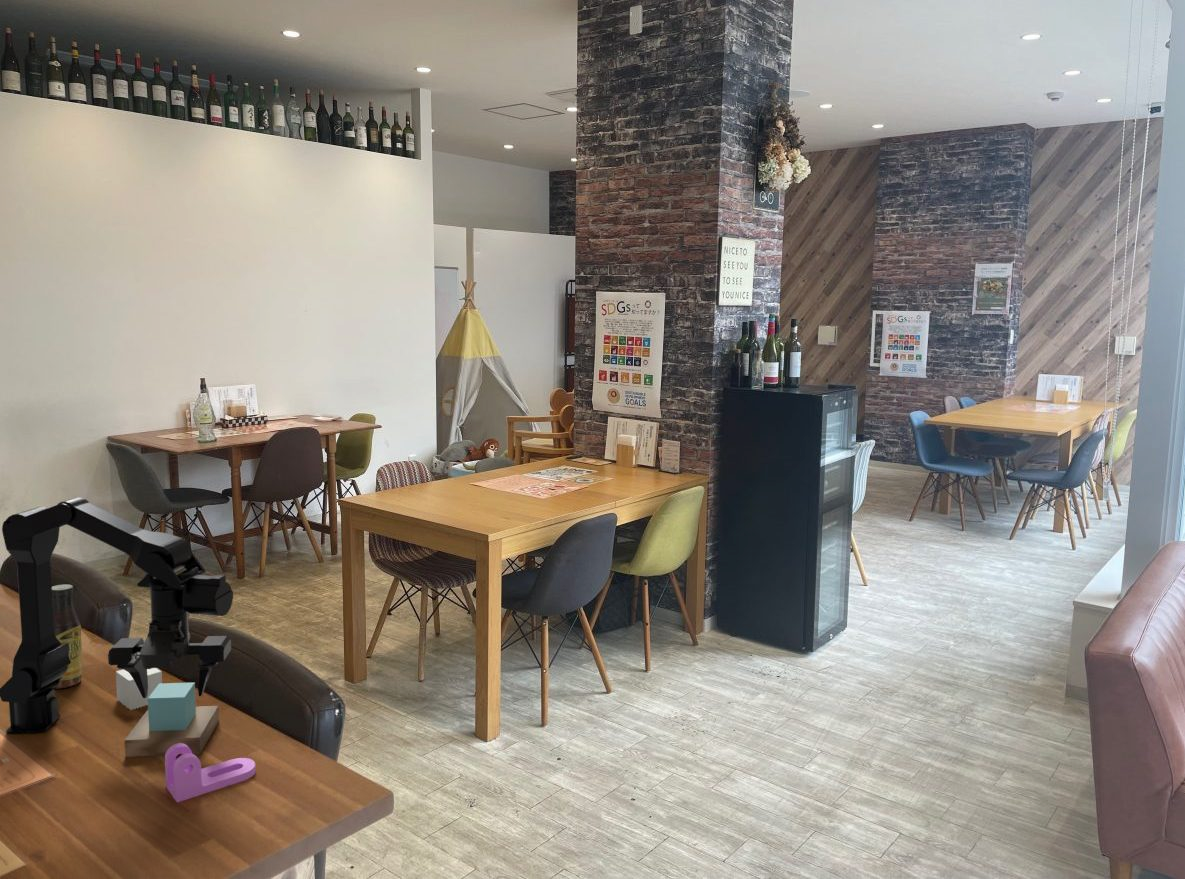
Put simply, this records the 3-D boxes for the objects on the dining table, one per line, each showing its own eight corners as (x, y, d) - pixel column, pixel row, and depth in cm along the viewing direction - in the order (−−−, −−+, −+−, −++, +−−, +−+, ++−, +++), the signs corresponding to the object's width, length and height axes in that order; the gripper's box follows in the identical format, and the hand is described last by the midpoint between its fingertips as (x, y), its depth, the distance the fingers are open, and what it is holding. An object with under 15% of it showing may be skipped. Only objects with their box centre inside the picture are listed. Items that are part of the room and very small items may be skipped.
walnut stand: (125, 756, 150) (124, 740, 149) (149, 723, 161) (149, 708, 161) (200, 753, 152) (199, 737, 151) (218, 721, 163) (218, 705, 163)
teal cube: (149, 731, 153) (147, 698, 152) (160, 715, 158) (159, 683, 158) (185, 729, 153) (184, 697, 153) (195, 713, 159) (194, 682, 158)
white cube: (117, 701, 170) (115, 671, 169) (149, 691, 175) (147, 662, 174) (130, 710, 166) (129, 680, 165) (163, 700, 171) (161, 671, 170)
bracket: (177, 803, 137) (175, 761, 136) (166, 788, 141) (164, 747, 140) (260, 775, 146) (259, 736, 145) (247, 762, 150) (246, 723, 149)
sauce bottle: (66, 692, 173) (60, 594, 170) (38, 688, 174) (32, 591, 171) (91, 678, 179) (86, 584, 176) (64, 674, 181) (59, 581, 178)
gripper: (92, 629, 144) (97, 719, 146) (213, 626, 146) (216, 715, 149) (118, 606, 155) (122, 690, 157) (230, 604, 157) (233, 687, 160)
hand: (173, 696), depth 155 cm, fingers open, 9 cm apart
